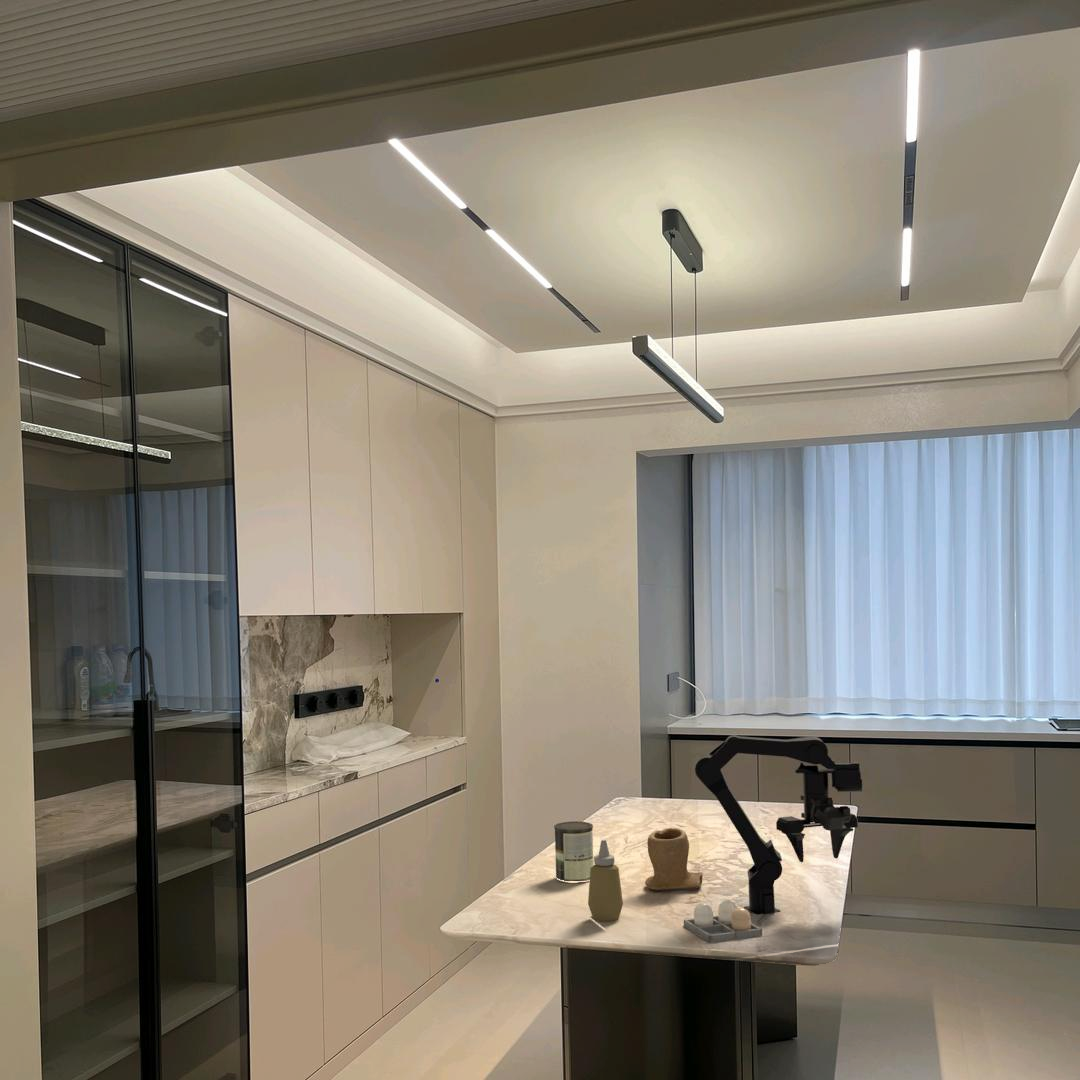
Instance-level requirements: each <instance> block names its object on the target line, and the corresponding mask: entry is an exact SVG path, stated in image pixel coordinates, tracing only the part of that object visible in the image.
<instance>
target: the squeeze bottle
mask: <svg viewBox="0 0 1080 1080" xmlns="http://www.w3.org/2000/svg"><path fill="white" fill-rule="evenodd" d="M588 884H589V886H588V898H587V905H588V907H589V911H590V914H591V917H592V918H593V921H594V920H595V922H603V923H604V922H614V921H617V920H619V918H620V915H621V912H622V908H623V905H624V900H623V894H622V885H621V877H620V869H619V866H617V865H616V864H615V856H614V855H612V854H610V850H609V847H608V842H607V840H606V839H601V840H600V846H599V850H598V854H596V855H595V856H593V866H592V867H591V868H590V882H588Z"/></svg>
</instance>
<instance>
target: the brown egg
mask: <svg viewBox="0 0 1080 1080" xmlns="http://www.w3.org/2000/svg"><path fill="white" fill-rule="evenodd" d="M731 922H732V930H734V931H744V930H751V923H752V916H751V913H750V911H748V910H746V909H745V908H744V907H737V909H735V910H734V911H733V912H732V915H731Z"/></svg>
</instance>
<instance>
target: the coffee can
mask: <svg viewBox="0 0 1080 1080" xmlns="http://www.w3.org/2000/svg"><path fill="white" fill-rule="evenodd" d="M593 828H594V826H593V824H592V823H591V822H586V821H575V820H574V821H565V822H563V821H562V822H558V823H556V824H555V825H554V845H555V847H554V848H555V851H554V852H555V878H556V877H557V878H558V879H560V880H564V881H587V880H590V868H591V867H592V866H593V865H594V844H593V843H594V840H593V839H594V837H593Z"/></svg>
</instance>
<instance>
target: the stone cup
mask: <svg viewBox="0 0 1080 1080" xmlns="http://www.w3.org/2000/svg"><path fill="white" fill-rule="evenodd" d="M689 852H690V841H689V837H688V835H687V833H686V831H684V830H683V829H681V828H676V827H668V828H665V829H663V830H655V831H653V832H651V833H650V834H649V835H648V838H647V853H648V857H649V859H650V863H651V865H652V868H653V875H652V876H649V877H648V878H646V879H645V882H644V885H645V886H646V887H647V888H648V889H650V890H654V891H671V890H672V891H675V890H691V889H692V890H693V889H694V890H695V889H701V887H702V885H703V878H704V876H703V875H704V874H703V872H700V871H699V872H690V871H688V859H689V854H690V853H689Z"/></svg>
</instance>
